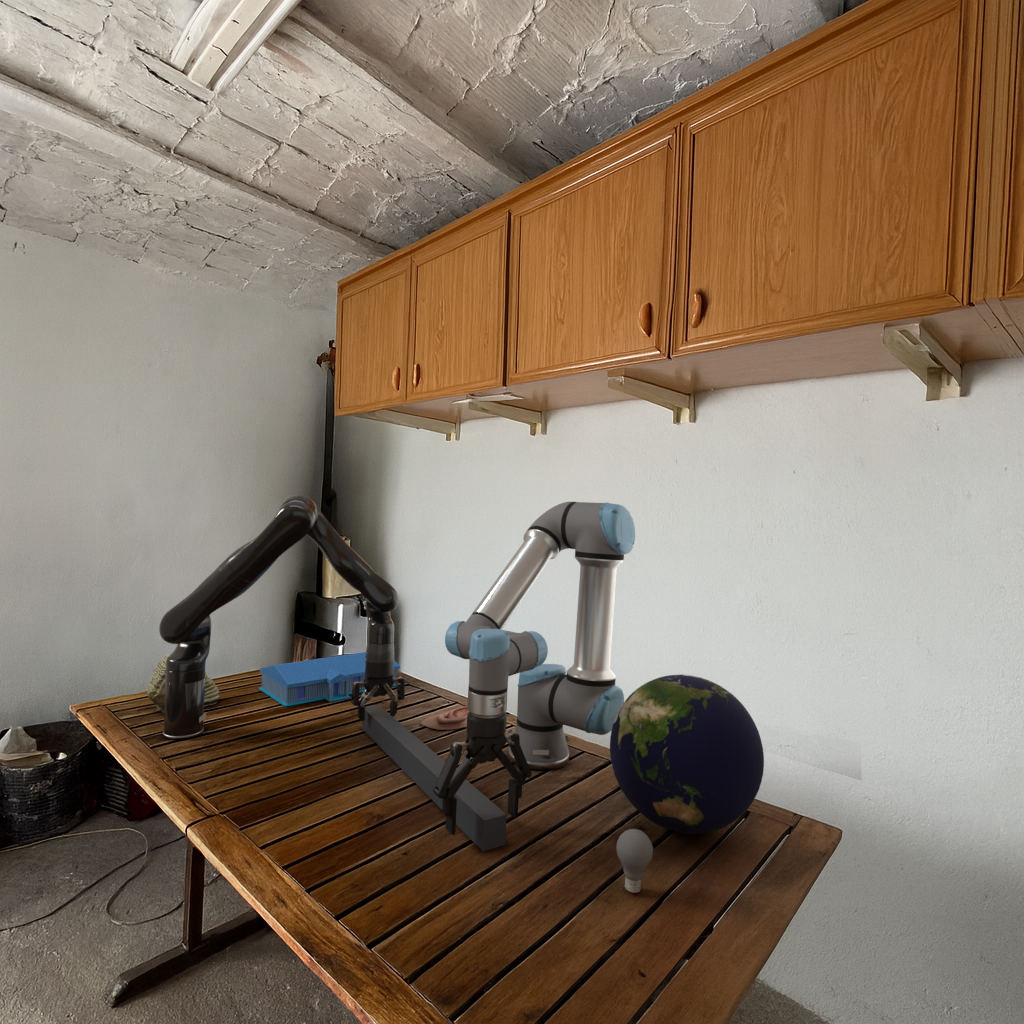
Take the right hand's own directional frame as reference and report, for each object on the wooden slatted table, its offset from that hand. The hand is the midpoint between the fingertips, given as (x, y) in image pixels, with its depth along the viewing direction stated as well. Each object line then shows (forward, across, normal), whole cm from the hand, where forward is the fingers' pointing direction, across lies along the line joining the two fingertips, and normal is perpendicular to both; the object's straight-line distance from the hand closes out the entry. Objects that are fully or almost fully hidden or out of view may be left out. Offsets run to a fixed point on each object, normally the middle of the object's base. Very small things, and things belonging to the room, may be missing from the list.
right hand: (482, 822), depth 121 cm
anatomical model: (+3, +20, +57) cm, 61 cm away
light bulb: (+3, +14, -26) cm, 30 cm away
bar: (+3, 0, +30) cm, 30 cm away
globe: (+3, +38, -14) cm, 41 cm away
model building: (+3, 0, +102) cm, 102 cm away
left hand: (-1, 0, +59) cm, 59 cm away
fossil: (+3, -44, +102) cm, 111 cm away
